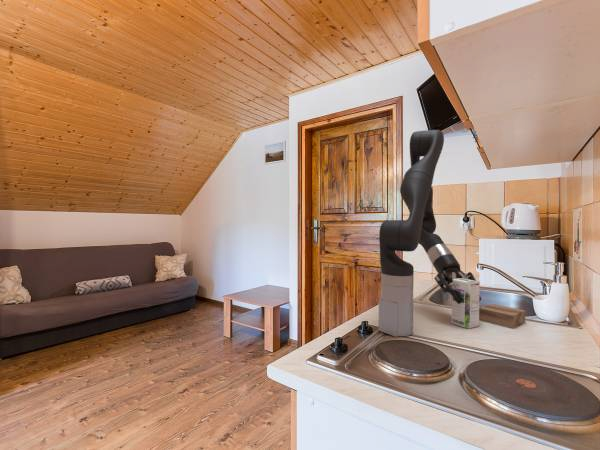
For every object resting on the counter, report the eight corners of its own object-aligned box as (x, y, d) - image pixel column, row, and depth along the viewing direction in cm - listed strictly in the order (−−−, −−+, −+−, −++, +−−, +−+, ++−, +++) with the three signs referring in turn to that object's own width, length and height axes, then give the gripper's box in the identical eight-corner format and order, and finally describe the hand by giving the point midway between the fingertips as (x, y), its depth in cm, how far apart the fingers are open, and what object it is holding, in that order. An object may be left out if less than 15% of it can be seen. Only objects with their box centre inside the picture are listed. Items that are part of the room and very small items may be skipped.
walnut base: (513, 328, 90) (513, 315, 90) (478, 319, 98) (478, 308, 98) (525, 322, 96) (525, 310, 96) (491, 314, 104) (491, 303, 104)
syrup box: (450, 323, 95) (451, 278, 95) (463, 320, 97) (463, 277, 97) (467, 329, 89) (467, 282, 89) (479, 326, 92) (480, 280, 92)
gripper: (430, 253, 99) (458, 296, 87) (465, 252, 102) (495, 294, 91) (420, 266, 104) (444, 309, 92) (453, 265, 107) (481, 306, 96)
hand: (469, 301), depth 92 cm, fingers closed on syrup box, 6 cm apart
